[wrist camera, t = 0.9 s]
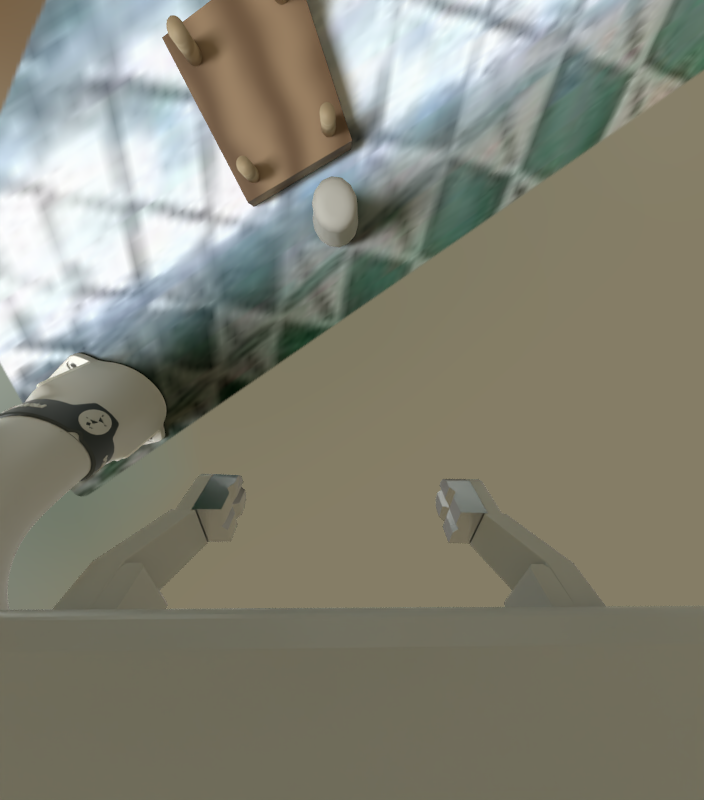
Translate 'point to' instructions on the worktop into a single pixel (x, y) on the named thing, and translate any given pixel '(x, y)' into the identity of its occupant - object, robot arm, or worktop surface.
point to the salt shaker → (335, 212)
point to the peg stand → (261, 89)
